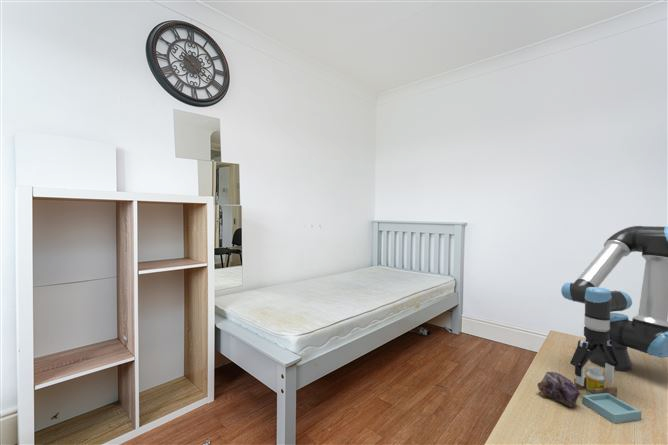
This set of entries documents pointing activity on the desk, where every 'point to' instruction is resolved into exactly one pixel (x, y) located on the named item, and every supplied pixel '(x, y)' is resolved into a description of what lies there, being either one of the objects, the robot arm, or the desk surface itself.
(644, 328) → the robot arm
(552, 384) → the rock
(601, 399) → the tray
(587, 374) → the supplement bottle
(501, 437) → the desk surface
